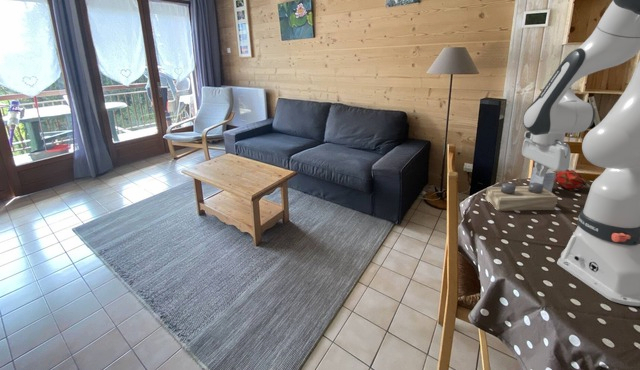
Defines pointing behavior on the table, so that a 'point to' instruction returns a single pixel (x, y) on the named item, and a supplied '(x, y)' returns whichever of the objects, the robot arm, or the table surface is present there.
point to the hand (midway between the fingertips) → (539, 175)
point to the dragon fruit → (569, 179)
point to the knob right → (535, 187)
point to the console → (521, 199)
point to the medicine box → (544, 179)
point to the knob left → (508, 188)
